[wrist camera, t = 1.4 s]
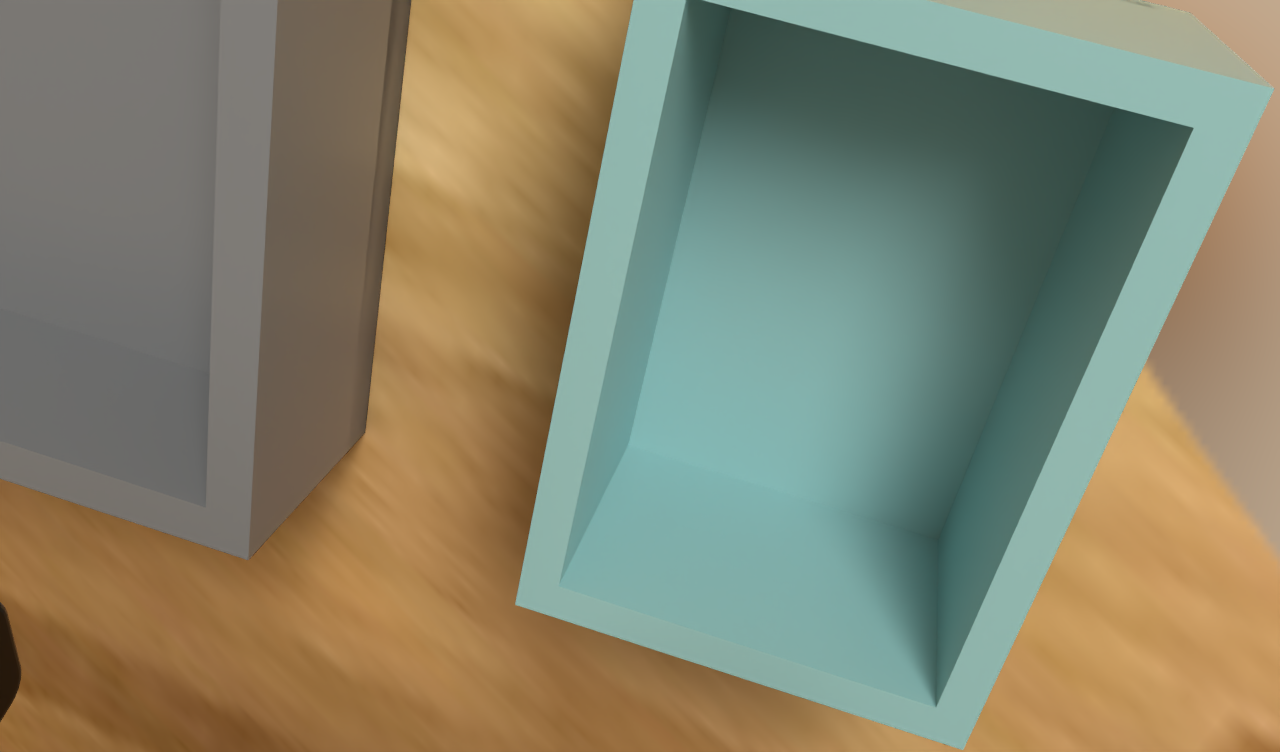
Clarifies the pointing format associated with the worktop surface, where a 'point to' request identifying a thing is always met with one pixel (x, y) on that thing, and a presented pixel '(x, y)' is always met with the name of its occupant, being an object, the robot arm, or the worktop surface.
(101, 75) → the charcoal crate
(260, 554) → the worktop surface
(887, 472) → the teal crate
